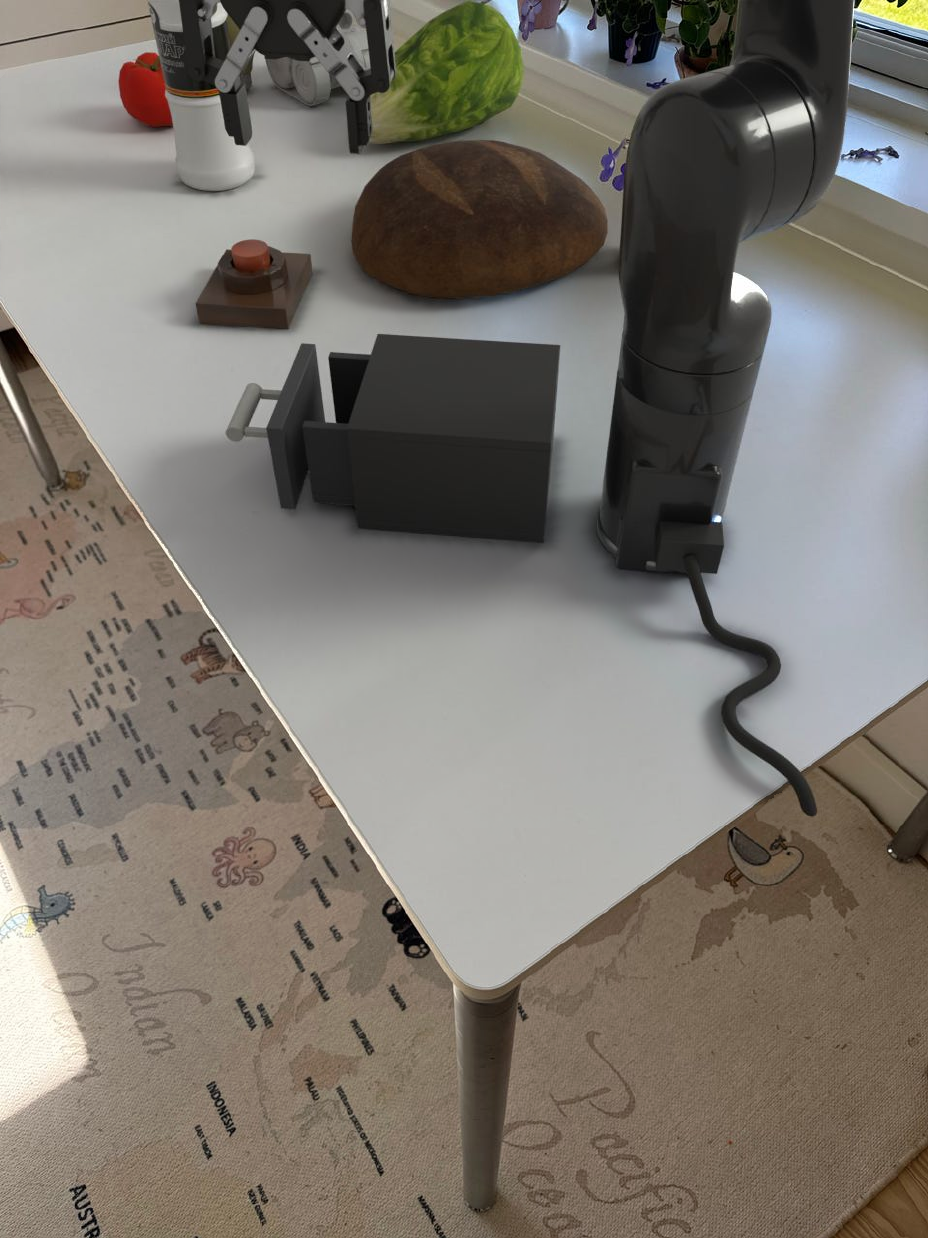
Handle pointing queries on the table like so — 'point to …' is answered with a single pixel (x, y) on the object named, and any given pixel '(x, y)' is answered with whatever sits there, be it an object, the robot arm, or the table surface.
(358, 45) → the toy tank
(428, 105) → the lettuce
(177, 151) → the vodka
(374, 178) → the bread
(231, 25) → the light bulb
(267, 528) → the table surface
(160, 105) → the red bell pepper
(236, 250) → the button
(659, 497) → the robot arm
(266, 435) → the drawer
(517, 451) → the cabinet
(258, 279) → the brown button base
